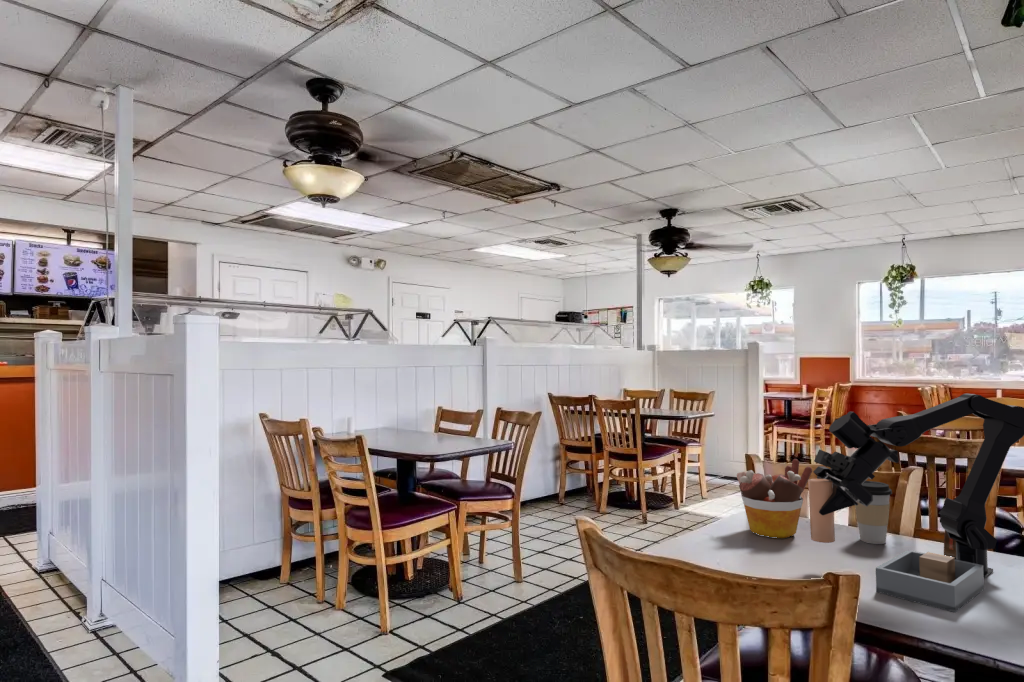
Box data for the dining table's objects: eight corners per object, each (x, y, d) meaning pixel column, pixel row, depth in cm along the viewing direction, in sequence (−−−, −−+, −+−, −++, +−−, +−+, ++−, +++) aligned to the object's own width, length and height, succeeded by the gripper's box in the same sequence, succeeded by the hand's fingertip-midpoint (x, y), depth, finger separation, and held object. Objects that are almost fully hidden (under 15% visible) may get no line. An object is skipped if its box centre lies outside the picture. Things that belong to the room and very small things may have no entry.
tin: (948, 544, 162) (947, 511, 163) (963, 546, 160) (962, 513, 161) (942, 559, 151) (941, 524, 151) (958, 562, 149) (957, 526, 149)
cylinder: (817, 535, 149) (814, 477, 149) (839, 539, 145) (836, 480, 145) (806, 539, 146) (804, 481, 146) (828, 544, 142) (826, 483, 142)
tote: (909, 572, 143) (908, 549, 143) (983, 589, 132) (983, 565, 132) (876, 591, 131) (875, 567, 132) (955, 612, 121) (954, 586, 121)
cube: (928, 574, 138) (927, 551, 138) (955, 581, 134) (954, 557, 134) (920, 580, 135) (919, 556, 135) (947, 586, 131) (946, 562, 131)
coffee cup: (870, 534, 172) (868, 479, 173) (902, 543, 164) (900, 485, 164) (844, 538, 169) (842, 482, 169) (875, 548, 160) (874, 488, 161)
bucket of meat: (764, 545, 164) (762, 468, 165) (724, 528, 180) (723, 458, 180) (825, 537, 170) (823, 463, 171) (782, 522, 186) (780, 454, 186)
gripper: (820, 432, 155) (775, 478, 155) (855, 443, 136) (805, 495, 137) (854, 464, 154) (809, 510, 155) (895, 480, 135) (843, 531, 136)
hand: (815, 510), depth 146 cm, fingers closed on cylinder, 5 cm apart
